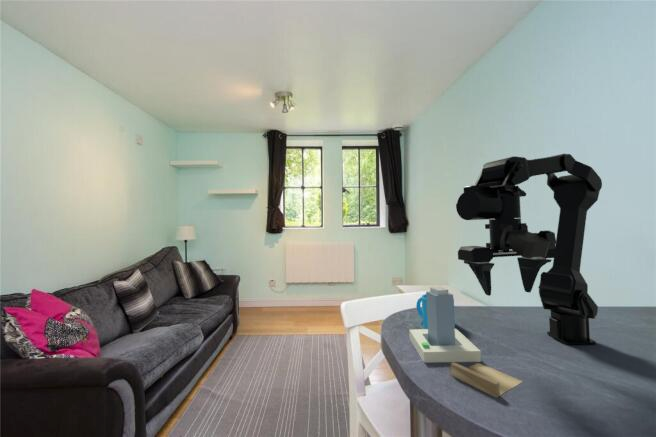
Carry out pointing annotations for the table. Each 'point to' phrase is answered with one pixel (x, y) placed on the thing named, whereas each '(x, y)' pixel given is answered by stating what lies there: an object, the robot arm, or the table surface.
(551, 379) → the table surface
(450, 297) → the plug
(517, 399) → the table surface
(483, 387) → the tan base plate
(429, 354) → the block
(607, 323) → the table surface
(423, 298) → the mug
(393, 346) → the table surface
